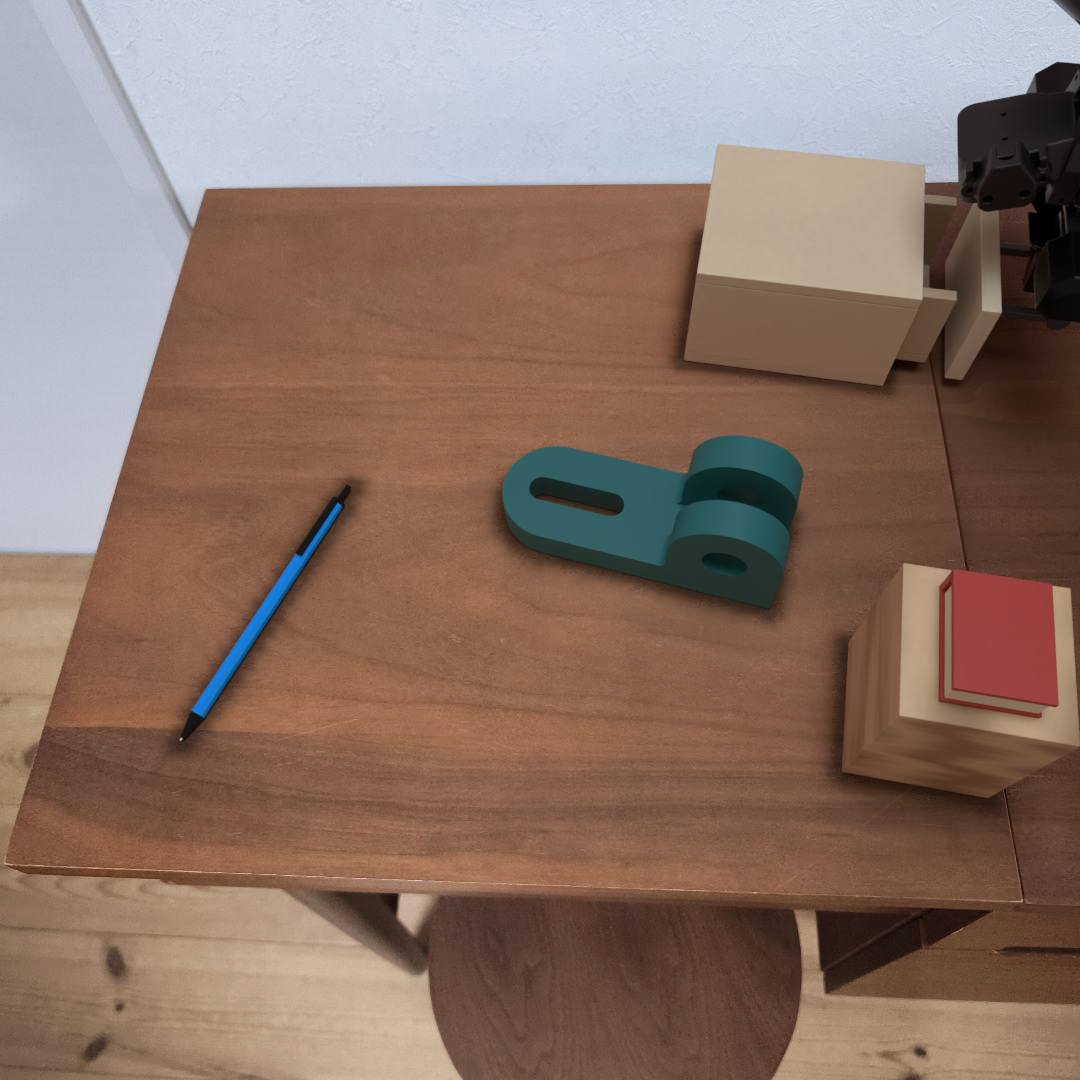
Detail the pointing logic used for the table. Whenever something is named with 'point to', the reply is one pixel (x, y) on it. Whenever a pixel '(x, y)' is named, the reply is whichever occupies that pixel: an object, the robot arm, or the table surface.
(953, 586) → the book
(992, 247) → the drawer
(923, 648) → the stand
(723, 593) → the bracket
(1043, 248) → the robot arm
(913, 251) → the cabinet
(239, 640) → the pen
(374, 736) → the table surface
